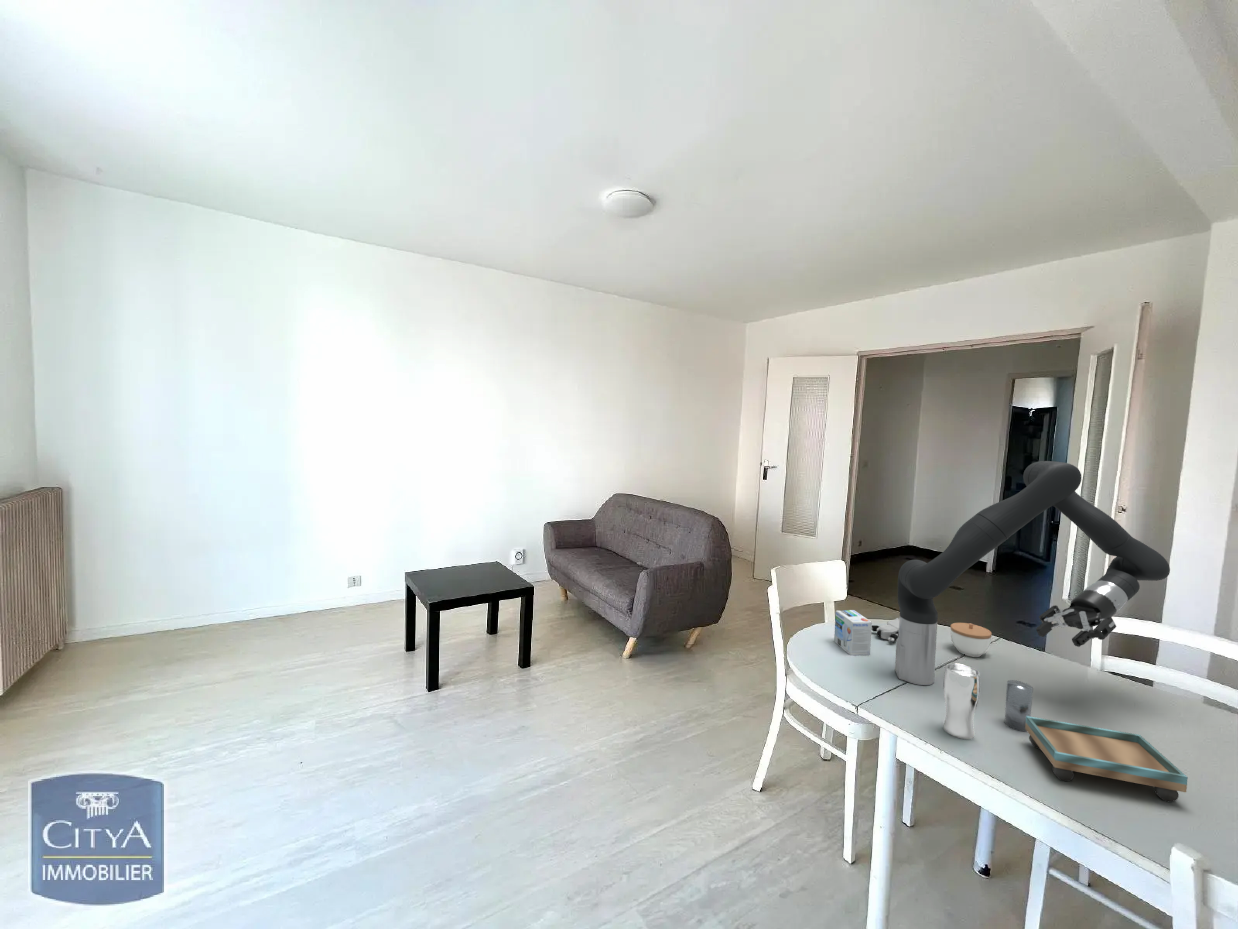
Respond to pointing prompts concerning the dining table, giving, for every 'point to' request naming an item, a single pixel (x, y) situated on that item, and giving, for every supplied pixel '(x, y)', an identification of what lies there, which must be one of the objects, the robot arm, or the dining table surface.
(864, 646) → the light bulb box
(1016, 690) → the metal part
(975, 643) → the lidded jar
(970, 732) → the beer glass
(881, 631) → the robot toy
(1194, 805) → the dining table surface
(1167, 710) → the dining table surface
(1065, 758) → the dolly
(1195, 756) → the dining table surface
